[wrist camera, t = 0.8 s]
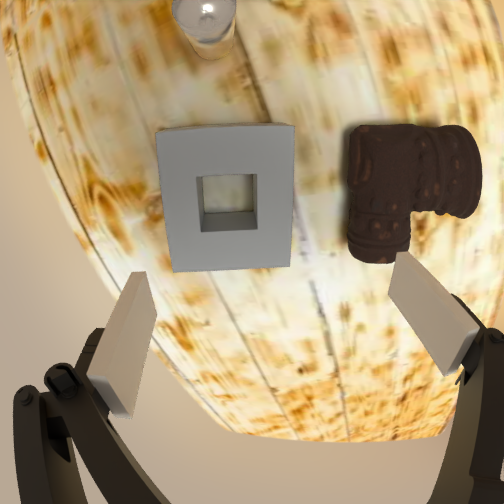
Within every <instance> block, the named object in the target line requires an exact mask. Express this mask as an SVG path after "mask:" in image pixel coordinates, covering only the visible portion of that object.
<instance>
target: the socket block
mask: <svg viewBox="0 0 504 504" xmlns="http://www.w3.org/2000/svg"><path fill="white" fill-rule="evenodd" d="M294 133H295V126H292V125H289V124H286V123H238V124H216V125H201V126H189V127H178V128H169V129H165V130H162V131H159V132H157V133H155V134H156V146H157V157H158V167H159V177H160V186H161V194H162V202H163V210H164V217H165V225H166V231H167V238H168V245H169V251H170V257H171V263H172V269H173V273H174V272H197V271H218V270H238V269H257V268H275V267H290V257H291V237H292V214H293V184H294ZM238 174H253V211H249V212H228V213H209V214H204V202H203V189H202V176H217V175H238Z"/></svg>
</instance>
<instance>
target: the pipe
mask: <svg viewBox="0 0 504 504" xmlns="http://www.w3.org/2000/svg"><path fill="white" fill-rule="evenodd" d="M347 181H348V186H349V188H350V189H351V191H352V192H353V203H352V205H351V208H352V209H350V211H349V219H350V220H351V221H350V224H349V226H348V233H347V238H348V248H349V251H350V253H351V254H352V256H353V257H354V258H356V259H358V260H360V261H362V262H365V263H374V264H389V263H393V262H394V261H395V260H396V255H397V252H407V251H408V249H409V245H410V238H411V235H410V233H411V227H410V214H411V212H412V211H417V212H422V211H435V213H436V214H437V215H444V214H445V213H448V214H450V215H452V216H456V217H458V218H462V219H465V218H467V217H469V216H470V215H472V214H473V213H474V211H475V209H476V208H477V206H478V203H479V200H480V196H481V189H482V163H481V157H480V153H479V149H478V146H477V144H476V142H475V140H474V138H473V136H472V135H471V133H470V132H469V131H468V130H467V129H465V128H464V127H462V126H459V125H444V126H440V127H436V128H426V127H421V126H416V125H413V124H397V125H360V126H359V127H357V128H355V129H354V131H353V132H352V133H351V134H350V150H349V170H348V180H347Z"/></svg>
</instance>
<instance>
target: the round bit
mask: <svg viewBox="0 0 504 504" xmlns="http://www.w3.org/2000/svg"><path fill="white" fill-rule="evenodd" d="M172 13H173V16H174V18H175V19H176V21H177V23H178V24H179V26H180V27H181V29H182V30H183V32H184V34H185V35H186V37H187V38H188V40H189V42H190V43H191V45H192V47H193V48H194V50H195V51H196V53H197V54H198V55H199V56H200V57H202V58H204V59H208V60H216V59H220V58H222V57H224V56H226V55H227V54H228V53H229V52H230V51H231V49H232V47H233V40H234V27H235V15H236V0H173V3H172Z"/></svg>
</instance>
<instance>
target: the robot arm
mask: <svg viewBox="0 0 504 504" xmlns="http://www.w3.org/2000/svg"><path fill="white" fill-rule="evenodd" d="M388 295H389V297H390V298H391V299H392V301H393V302H394V303H395V305H396V306H397V308H398V309H399V310H400V312H401V313H402V315H403V316H404V317H405V319H406V320H407V322H408V323H409V325H410V326H411V327H412V329H413V330H414V332H415V333H416V335H417V336H418V338H419V339H420V341H421V342H422V344H423V345H424V347H425V348H426V350H427V351H428V353H429V354H430V356H431V357H432V359H433V360H434V362H435V363H436V365H437V367H438V368H439V370H440V371H441V373H442V375H443V376H444V377H445V376H448V375H450V374H453V373H455V372H456V371H457V369H458V368H459V366H460V364H462V365H463V366H464V369H463V371H462V372H461V374H460V376H459V377H458V379H457V380H456V382H455V385H457V383H458V382H459V381H460V385H459V386H460V387H459V394H458V400H457V405H456V411H455V417H454V421H453V425H452V430H451V434H450V438H449V442H448V446H447V449H446V453H445V456H444V460H443V463H442V467H441V470H440V473H439V476H438V479H437V482H436V484H435V487H434V490H433V493H432V495H431V498H430V499H429V501H428V502H427V504H504V481H501V479H500V474H501V469H502V463H503V457H504V334H503V333H502V332H500V331H499V330H497V329H495V328H486V327H485V326H484V325H483V324H482V322H481V321H480V320H479V319H478V318H477V317H476V316H475V314H474V313H473V312H472V311H471V310H470V309H469V308H468V307H467V306H466V304H465V303H464V302H463V301H462V300H461V299H460V298H458V297H457V296H455V295H454V294H450V293H449V292H448V291H447V290H446V289H445V288H444V287H443V286H442V285H441V284H440V282H439V281H438V280H437V279H436V278H435V277H434V276H433V275H432V274H431V273H430V272H429V271H428V270H427V269H426V268H425V267H424V266H423V265H422V264H421V263H420V262H419V261H418V260H416V259H415V258H414V257H413V256H412V255H411V254H410V253H409V252H408V251H407V252H397V255H396V260H395V264H394V269H393V274H392V278H391V282H390V287H389V291H388ZM156 317H157V312H156V309H155V305H154V302H153V298H152V294H151V290H150V287H149V283H148V279H147V275H146V271H144V272H132V273H131V275H130V277H129V279H128V281H127V283H126V285H125V287H124V289H123V291H122V293H121V295H120V297H119V299H118V301H117V303H116V306H115V308H114V310H113V312H112V314H111V316H110V319H109V321H108V323H107V325H106V328H96V329H95V330H94V331H93V332H92V333H91V334H90V335H89V337H88V339H87V341H86V343H85V346H84V348H83V350H82V353H81V354H80V356H79V359H78V361H77V363H76V366H75V368H73V367H72V366H71V365H70V364H68V363H58V364H55V365H53V366H52V367H51V368H49V369H48V371H47V372H46V374H45V376H44V384H45V385H46V386H47V388H48V389H49V390H50V391H49V392H43V393H39V391H38V390H37V389H36V388H35V387H34V386H32V385H26V386H24V387H21V388H20V389H19V390H18V391H17V392H16V394H15V396H14V401H13V435H14V453H15V464H16V473H17V481H18V488H19V494H20V499H21V504H88V502H87V499H86V496H85V493H84V489H83V486H82V482H81V478H80V475H79V471H78V467H77V463H76V458H75V454H74V449H73V444H72V439H73V441H74V444H75V446H76V448H77V449H78V452H79V454H80V455H81V458H82V459H83V461H84V463H85V465H86V467H87V469H88V471H89V472H90V474H91V476H92V478H93V479H94V481H95V483H96V484H97V486H98V488H99V489H100V491H101V493H102V494H103V496H104V497H105V499H106V500H107V502H108V504H171V503H170V502H169V501H168V499H167V498H166V497H165V496H164V495H163V494H162V493H161V491H160V490H159V489H158V488H157V487H156V485H155V484H154V483H153V482H152V480H151V479H150V478H149V476H148V475H147V474H146V473H145V471H144V470H143V469H142V468H141V466H140V465H139V463H138V462H137V461H136V459H135V458H134V456H133V455H132V454H131V452H130V451H129V449H128V448H127V446H126V445H125V443H124V442H123V441H122V439H121V437H120V436H119V434H118V433H117V431H116V430H115V428H114V427H113V425H112V423H111V422H110V420H109V419H108V414H109V411H111V412H112V414H113V415H114V416H115V417H117V418H128V419H132V418H133V413H134V408H135V403H136V399H137V394H138V389H139V385H140V381H141V376H142V372H143V368H144V364H145V359H146V355H147V351H148V348H149V344H150V340H151V336H152V332H153V328H154V325H155V321H156ZM71 437H72V439H71Z"/></svg>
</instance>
